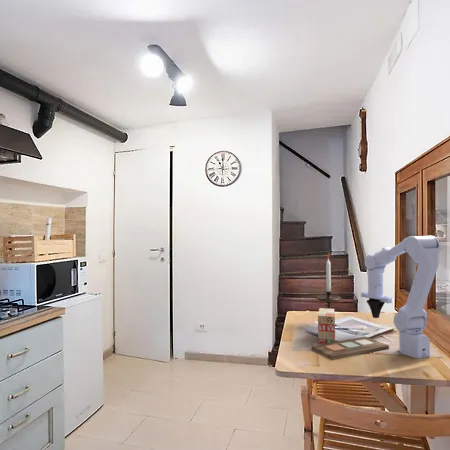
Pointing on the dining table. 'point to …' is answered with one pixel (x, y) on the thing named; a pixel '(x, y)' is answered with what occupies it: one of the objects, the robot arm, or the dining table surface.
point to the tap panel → (349, 352)
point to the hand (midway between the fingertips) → (375, 317)
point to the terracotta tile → (334, 348)
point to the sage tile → (349, 345)
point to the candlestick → (328, 288)
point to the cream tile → (364, 342)
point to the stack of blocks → (326, 325)
